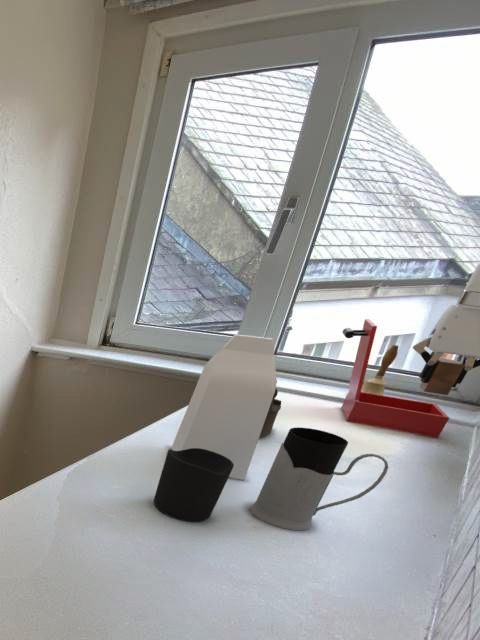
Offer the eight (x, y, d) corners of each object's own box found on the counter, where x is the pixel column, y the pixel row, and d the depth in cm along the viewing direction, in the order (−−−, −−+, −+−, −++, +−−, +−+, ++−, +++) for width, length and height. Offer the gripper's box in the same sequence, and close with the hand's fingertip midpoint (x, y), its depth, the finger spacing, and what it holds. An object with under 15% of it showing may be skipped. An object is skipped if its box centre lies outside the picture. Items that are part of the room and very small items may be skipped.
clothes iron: (225, 436, 128) (246, 380, 122) (234, 419, 139) (254, 368, 133) (265, 445, 124) (290, 388, 118) (272, 427, 135) (294, 374, 129)
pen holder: (213, 530, 89) (236, 475, 84) (149, 513, 93) (167, 460, 88) (210, 506, 96) (231, 454, 92) (151, 492, 100) (168, 441, 96)
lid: (369, 319, 143) (343, 319, 146) (377, 326, 133) (349, 326, 136) (352, 388, 150) (327, 387, 153) (358, 400, 140) (332, 399, 143)
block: (442, 390, 127) (459, 360, 124) (447, 395, 124) (465, 364, 121) (419, 386, 129) (435, 357, 126) (423, 391, 126) (440, 361, 123)
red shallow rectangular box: (425, 423, 144) (436, 404, 142) (437, 438, 134) (449, 417, 132) (340, 408, 153) (349, 389, 150) (346, 421, 143) (355, 401, 140)
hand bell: (386, 399, 163) (414, 346, 156) (385, 405, 157) (414, 350, 150) (350, 392, 168) (376, 340, 161) (348, 398, 162) (374, 344, 155)
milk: (175, 466, 111) (220, 337, 99) (171, 447, 120) (212, 327, 109) (244, 480, 107) (300, 347, 95) (234, 459, 116) (285, 335, 104)
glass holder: (247, 499, 99) (281, 422, 92) (345, 522, 93) (389, 441, 86) (251, 520, 92) (288, 438, 86) (358, 546, 86) (407, 460, 80)
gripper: (533, 305, 116) (482, 388, 124) (427, 294, 124) (386, 373, 133) (546, 309, 111) (493, 395, 119) (434, 298, 119) (392, 379, 127)
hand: (437, 383), depth 126 cm, fingers closed on block, 4 cm apart
